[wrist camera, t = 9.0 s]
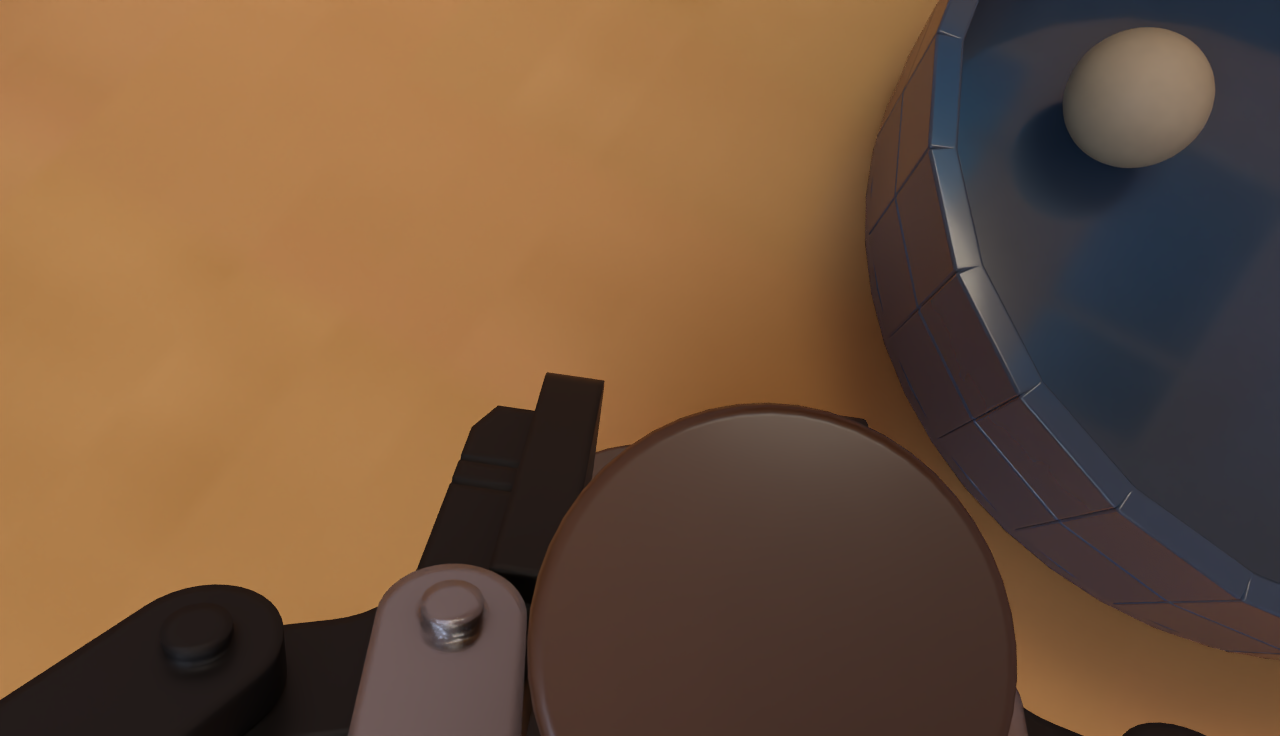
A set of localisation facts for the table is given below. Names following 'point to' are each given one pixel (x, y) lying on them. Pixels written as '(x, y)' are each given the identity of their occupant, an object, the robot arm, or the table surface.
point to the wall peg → (769, 590)
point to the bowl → (1095, 306)
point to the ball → (1138, 97)
